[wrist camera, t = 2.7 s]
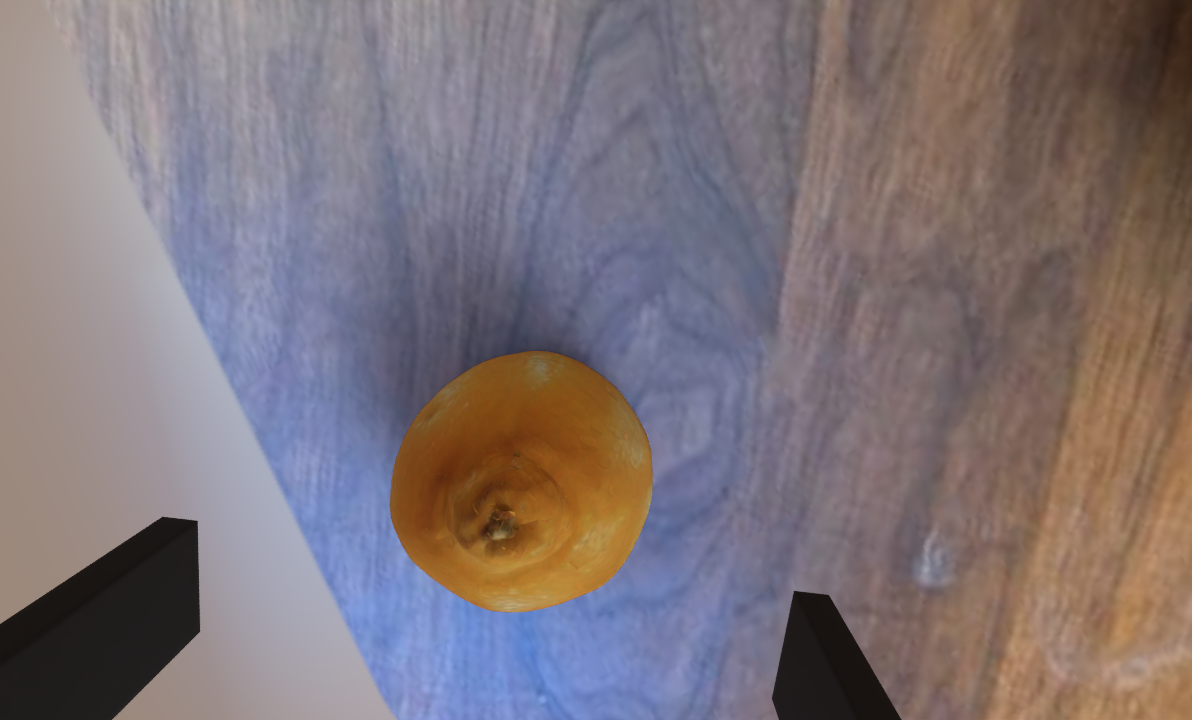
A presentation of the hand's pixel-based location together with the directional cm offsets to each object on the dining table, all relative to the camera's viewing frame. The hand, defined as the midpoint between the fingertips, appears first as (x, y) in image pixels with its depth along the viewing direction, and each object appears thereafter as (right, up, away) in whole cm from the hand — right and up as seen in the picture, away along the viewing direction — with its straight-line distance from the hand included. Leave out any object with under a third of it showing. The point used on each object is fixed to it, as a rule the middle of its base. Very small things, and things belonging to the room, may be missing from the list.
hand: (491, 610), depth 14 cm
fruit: (0, +2, +10) cm, 10 cm away
